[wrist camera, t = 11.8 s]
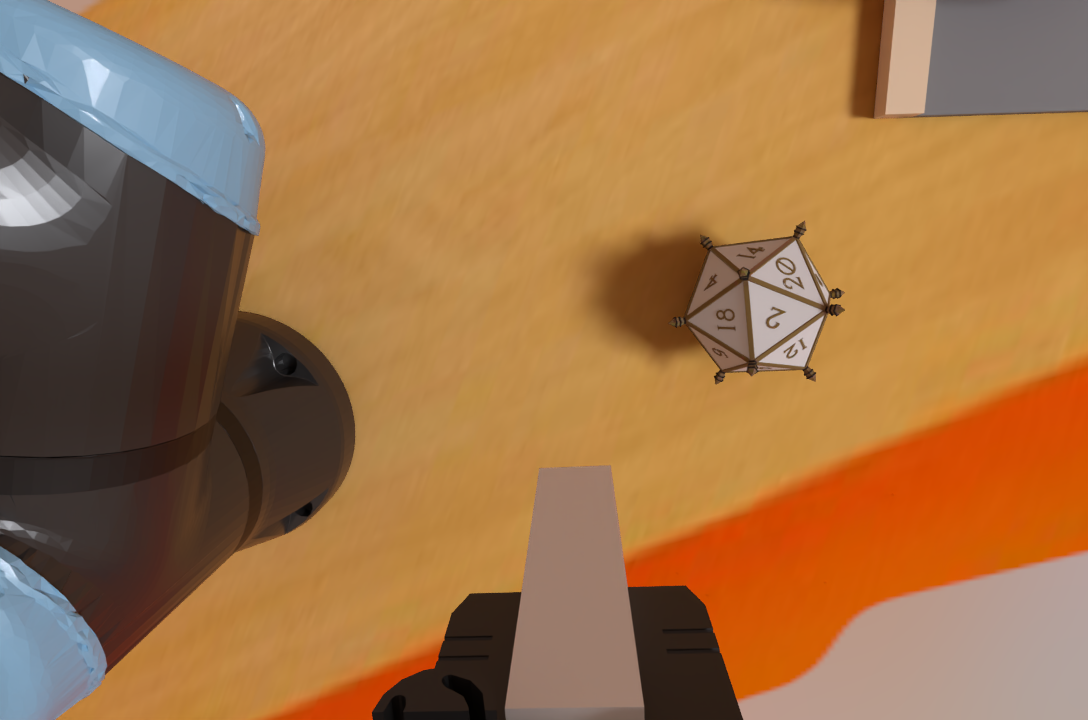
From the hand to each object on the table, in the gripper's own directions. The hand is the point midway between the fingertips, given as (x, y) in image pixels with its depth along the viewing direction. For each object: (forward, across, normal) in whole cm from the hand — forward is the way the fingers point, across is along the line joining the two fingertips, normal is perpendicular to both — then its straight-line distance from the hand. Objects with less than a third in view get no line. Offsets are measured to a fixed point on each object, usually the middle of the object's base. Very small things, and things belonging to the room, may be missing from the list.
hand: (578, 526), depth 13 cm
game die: (+26, -10, -1) cm, 28 cm away
